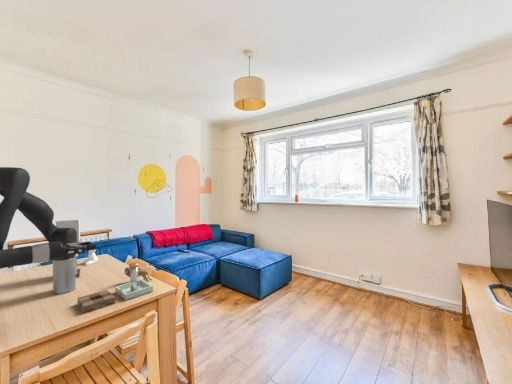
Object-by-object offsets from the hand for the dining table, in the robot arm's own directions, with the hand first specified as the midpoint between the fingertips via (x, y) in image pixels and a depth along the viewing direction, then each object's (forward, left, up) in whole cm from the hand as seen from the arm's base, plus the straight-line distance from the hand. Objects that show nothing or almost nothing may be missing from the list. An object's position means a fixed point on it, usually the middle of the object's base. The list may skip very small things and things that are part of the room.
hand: (93, 245), depth 109 cm
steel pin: (0, +18, -27) cm, 33 cm away
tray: (0, +18, -28) cm, 33 cm away
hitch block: (0, +1, -28) cm, 28 cm away
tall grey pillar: (-52, 0, -28) cm, 59 cm away
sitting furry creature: (-71, +16, -28) cm, 78 cm away
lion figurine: (-13, +25, -28) cm, 40 cm away
